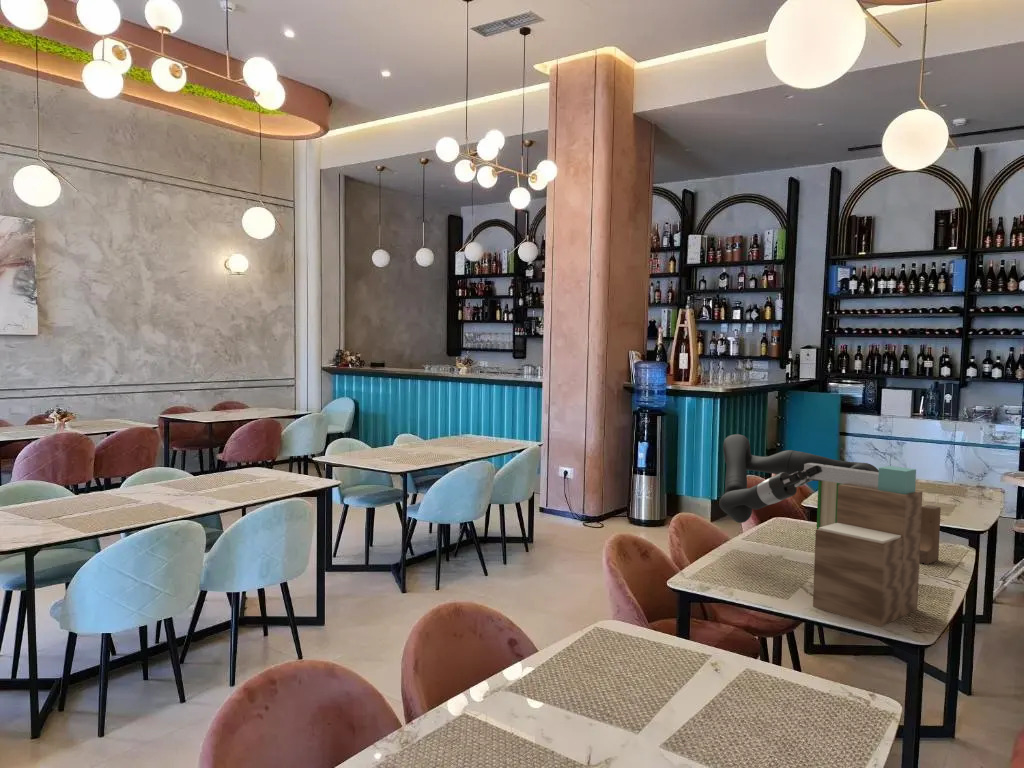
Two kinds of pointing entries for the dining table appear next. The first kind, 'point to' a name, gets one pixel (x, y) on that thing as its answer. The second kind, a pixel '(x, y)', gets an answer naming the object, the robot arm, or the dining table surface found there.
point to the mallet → (869, 477)
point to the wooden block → (929, 534)
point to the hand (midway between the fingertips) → (823, 467)
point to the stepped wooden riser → (869, 556)
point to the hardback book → (827, 503)
